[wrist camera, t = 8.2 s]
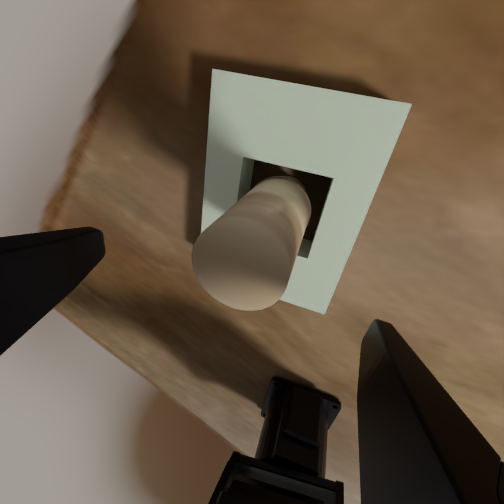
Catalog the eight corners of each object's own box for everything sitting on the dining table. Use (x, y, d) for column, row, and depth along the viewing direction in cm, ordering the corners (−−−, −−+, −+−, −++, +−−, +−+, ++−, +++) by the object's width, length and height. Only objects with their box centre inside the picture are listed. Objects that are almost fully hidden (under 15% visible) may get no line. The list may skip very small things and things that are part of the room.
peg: (306, 231, 17) (277, 324, 10) (253, 216, 18) (188, 293, 11) (323, 176, 16) (303, 238, 8) (263, 161, 16) (192, 207, 9)
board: (326, 292, 19) (324, 314, 17) (213, 256, 21) (198, 272, 19) (401, 104, 13) (411, 104, 11) (231, 74, 15) (212, 68, 12)
